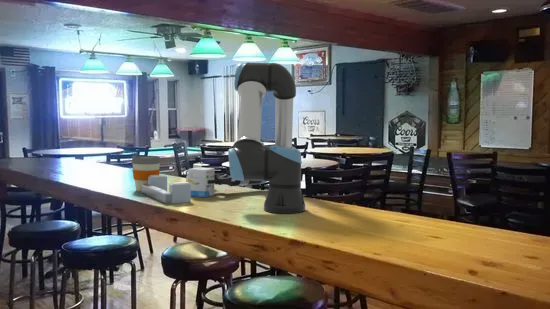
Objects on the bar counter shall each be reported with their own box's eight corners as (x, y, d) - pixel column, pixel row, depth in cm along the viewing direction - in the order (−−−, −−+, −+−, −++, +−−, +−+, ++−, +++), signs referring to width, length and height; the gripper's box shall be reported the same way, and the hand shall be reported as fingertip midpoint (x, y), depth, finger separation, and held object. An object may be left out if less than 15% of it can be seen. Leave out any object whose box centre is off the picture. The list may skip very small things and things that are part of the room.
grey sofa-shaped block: (190, 201, 200) (190, 182, 199) (172, 203, 196) (172, 183, 195) (164, 191, 225) (164, 174, 225) (148, 192, 221) (148, 175, 221)
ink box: (205, 197, 211) (205, 169, 210) (187, 196, 214) (187, 168, 213) (214, 194, 218) (215, 167, 218) (197, 193, 222) (197, 166, 221)
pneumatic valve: (203, 189, 234) (203, 163, 233) (191, 186, 243) (191, 161, 242) (213, 188, 237) (213, 162, 236) (201, 185, 246) (201, 160, 245)
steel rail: (171, 203, 196) (171, 193, 195) (164, 204, 194) (164, 193, 194) (147, 192, 221) (147, 183, 221) (141, 193, 220) (141, 183, 219)
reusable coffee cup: (150, 192, 221) (150, 158, 220) (126, 190, 225) (125, 157, 224) (165, 189, 233) (165, 156, 232) (142, 187, 237) (142, 155, 236)
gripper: (251, 189, 217) (206, 193, 204) (223, 182, 236) (180, 186, 223) (252, 171, 216) (206, 174, 203) (223, 166, 235) (180, 169, 222)
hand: (193, 180), depth 213 cm, fingers closed on ink box, 11 cm apart
